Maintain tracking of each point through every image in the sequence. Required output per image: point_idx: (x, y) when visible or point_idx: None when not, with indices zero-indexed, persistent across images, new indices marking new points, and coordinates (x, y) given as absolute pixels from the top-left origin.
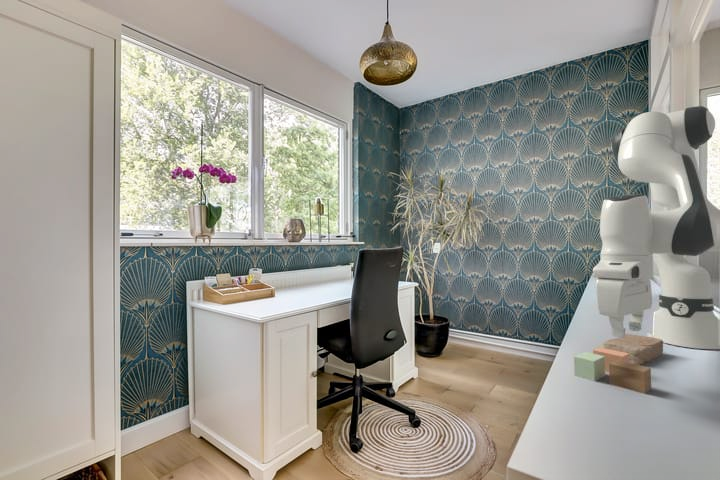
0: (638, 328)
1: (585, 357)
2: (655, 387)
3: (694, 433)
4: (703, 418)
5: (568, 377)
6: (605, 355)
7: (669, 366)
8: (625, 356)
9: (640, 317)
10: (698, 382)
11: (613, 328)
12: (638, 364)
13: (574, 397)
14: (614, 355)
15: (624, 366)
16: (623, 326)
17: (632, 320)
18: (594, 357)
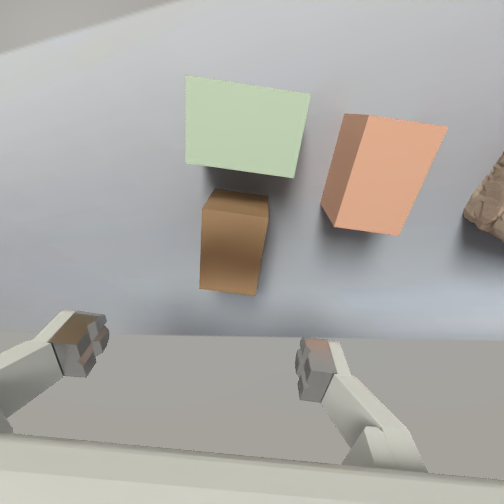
0: (296, 373)
1: (213, 121)
2: (275, 268)
3: None
4: (167, 327)
5: (167, 71)
6: (349, 166)
7: (496, 278)
8: (359, 228)
9: (346, 436)
10: (378, 322)
11: (36, 341)
12: (469, 220)
13: (28, 142)
14: (341, 200)
15: (210, 247)
16: (44, 389)
17: (338, 389)
18: (242, 151)
